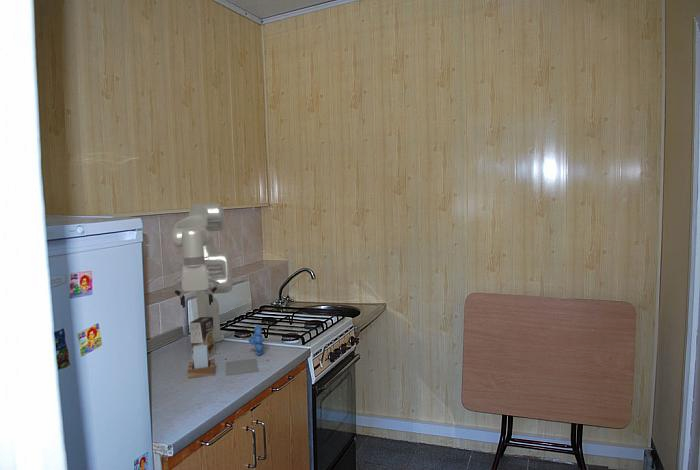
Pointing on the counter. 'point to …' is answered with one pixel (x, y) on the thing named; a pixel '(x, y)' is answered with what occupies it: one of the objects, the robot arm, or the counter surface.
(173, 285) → the robot arm
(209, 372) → the pocket holder
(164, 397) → the counter surface
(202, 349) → the block
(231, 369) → the mat
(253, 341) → the grapes
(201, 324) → the coffee box
